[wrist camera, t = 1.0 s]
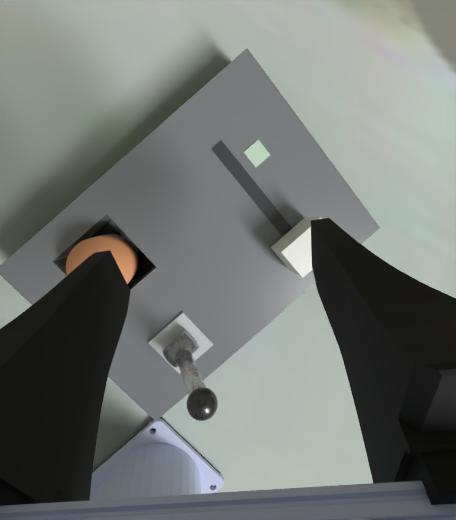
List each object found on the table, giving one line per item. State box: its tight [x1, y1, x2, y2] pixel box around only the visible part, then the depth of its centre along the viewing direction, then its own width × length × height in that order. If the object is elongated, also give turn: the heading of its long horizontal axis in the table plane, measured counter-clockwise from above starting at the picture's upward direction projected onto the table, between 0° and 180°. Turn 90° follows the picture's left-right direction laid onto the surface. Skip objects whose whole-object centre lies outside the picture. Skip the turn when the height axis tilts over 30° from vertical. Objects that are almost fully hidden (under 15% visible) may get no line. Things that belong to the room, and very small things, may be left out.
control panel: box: [0, 49, 380, 421], centre depth 22 cm, size 20×14×3 cm
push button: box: [66, 234, 139, 284], centre depth 20 cm, size 4×4×3 cm
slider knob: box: [271, 217, 322, 278], centre depth 20 cm, size 3×2×2 cm, turn 131°
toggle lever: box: [163, 331, 217, 421], centre depth 19 cm, size 2×2×6 cm
